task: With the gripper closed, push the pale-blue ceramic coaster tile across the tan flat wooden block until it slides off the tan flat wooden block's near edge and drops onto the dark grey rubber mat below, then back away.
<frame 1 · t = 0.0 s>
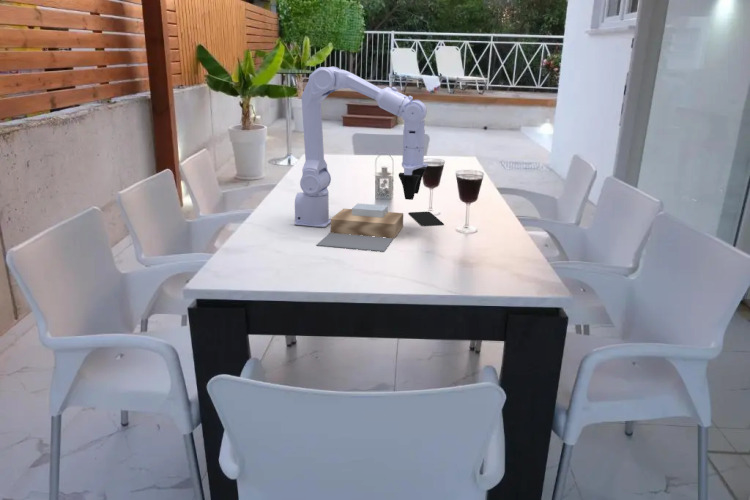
hand: (411, 196, 163), 10 cm above the table, fingers open, 7 cm apart
tile: (370, 213, 168), point 4 cm above the table, touching tan flat wooden block
tan flat wooden block: (367, 229, 167), on the table
smartphone: (425, 220, 179), on the table
mat: (355, 242, 156), on the table
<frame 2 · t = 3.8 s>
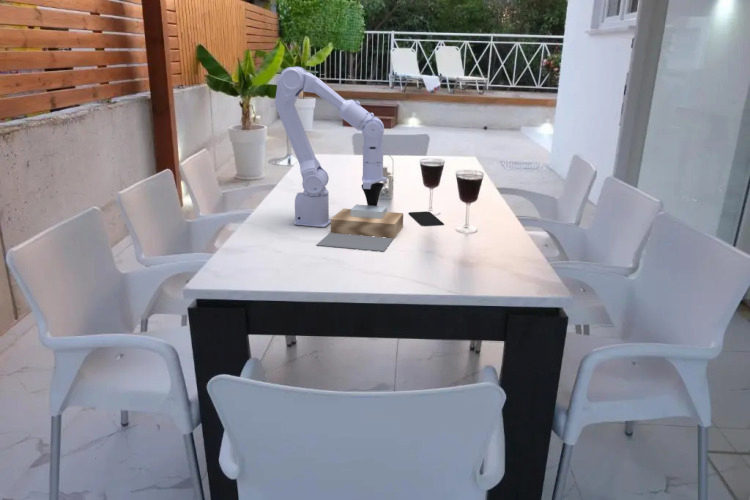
hand: (372, 208, 170), 5 cm above the table, fingers closed
tile: (368, 214, 167), point 4 cm above the table, touching tan flat wooden block, gripper
everything else where it was.
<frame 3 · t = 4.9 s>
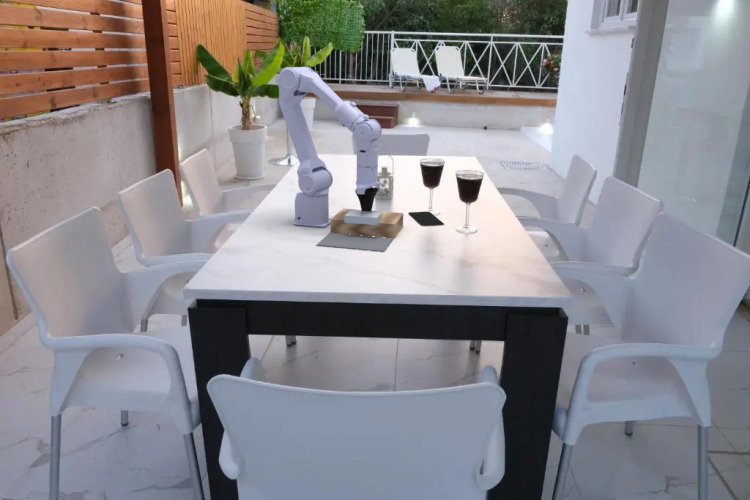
hand: (366, 214, 164), 5 cm above the table, fingers closed
tile: (363, 220, 161), point 4 cm above the table, touching gripper
everything else where it was.
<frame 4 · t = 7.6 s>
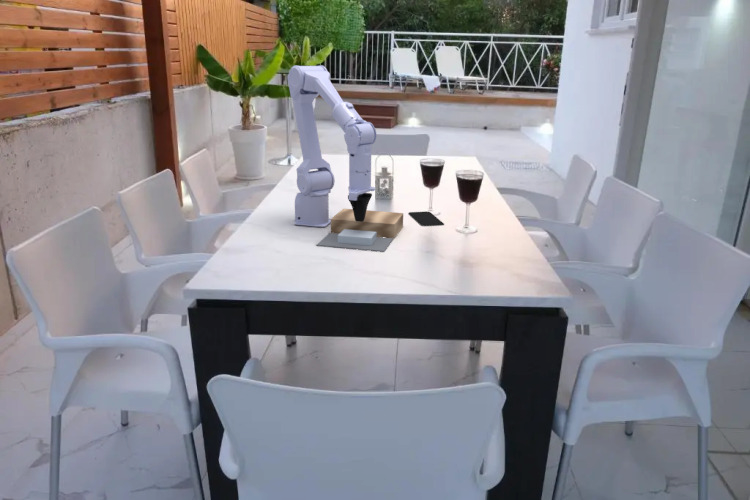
hand: (359, 220, 158), 5 cm above the table, fingers closed
tile: (357, 233, 155), point 2 cm above the table, tilted 180°, touching mat
everything else where it was.
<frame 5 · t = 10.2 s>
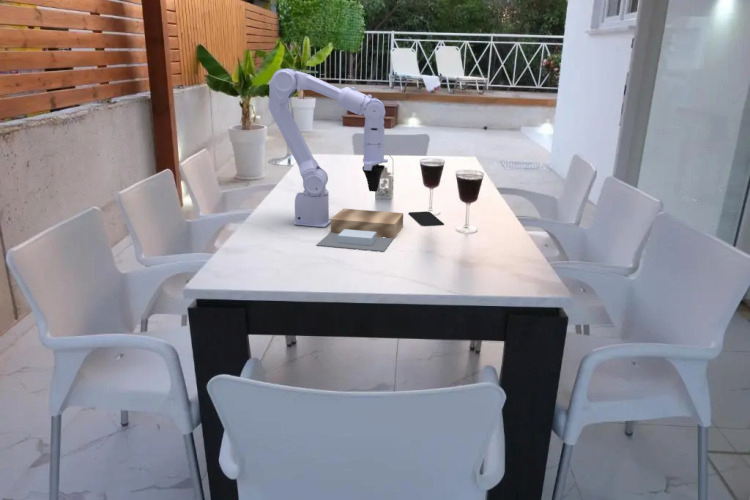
hand: (373, 190, 169), 10 cm above the table, fingers closed
nothing on the table moved.
at the end: tile inside the target area on the mat (0.8 cm from its centre), point 2.3 cm above the mat's base; the gripper is holding nothing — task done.
